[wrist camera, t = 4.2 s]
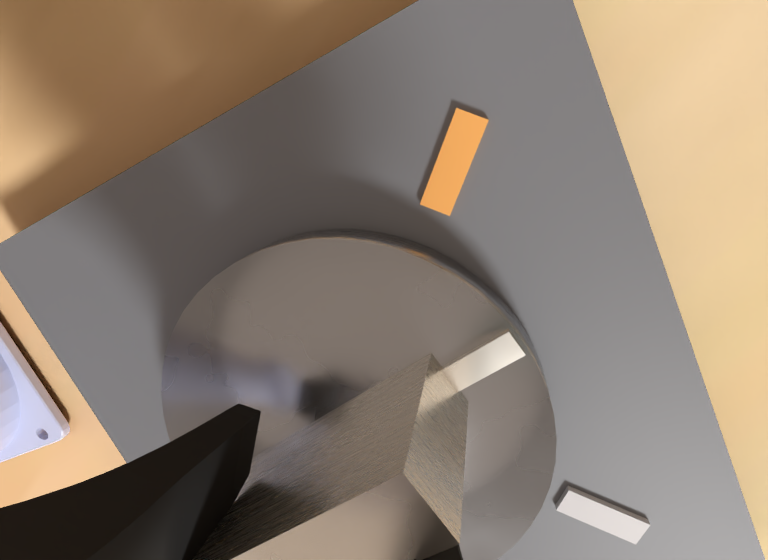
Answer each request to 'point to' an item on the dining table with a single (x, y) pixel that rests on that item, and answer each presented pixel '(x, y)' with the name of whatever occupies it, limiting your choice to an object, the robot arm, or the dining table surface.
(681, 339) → the dial base
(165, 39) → the dining table surface
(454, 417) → the dial
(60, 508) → the robot arm
